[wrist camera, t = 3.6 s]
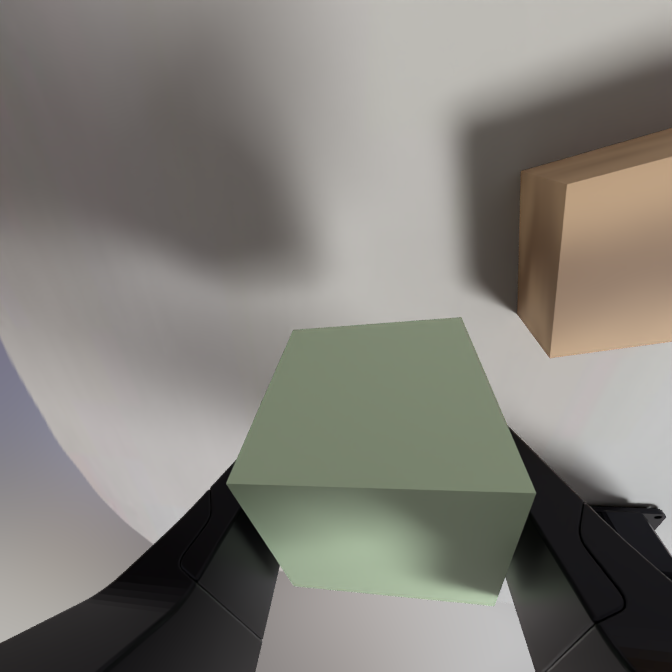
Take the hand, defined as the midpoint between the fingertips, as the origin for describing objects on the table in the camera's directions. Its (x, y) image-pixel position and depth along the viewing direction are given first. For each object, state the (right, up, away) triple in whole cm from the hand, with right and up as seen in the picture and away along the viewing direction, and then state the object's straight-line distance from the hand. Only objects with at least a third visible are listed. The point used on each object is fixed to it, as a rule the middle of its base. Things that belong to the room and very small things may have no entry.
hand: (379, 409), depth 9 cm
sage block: (0, +1, +1) cm, 1 cm away
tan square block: (+11, +7, +4) cm, 13 cm away
